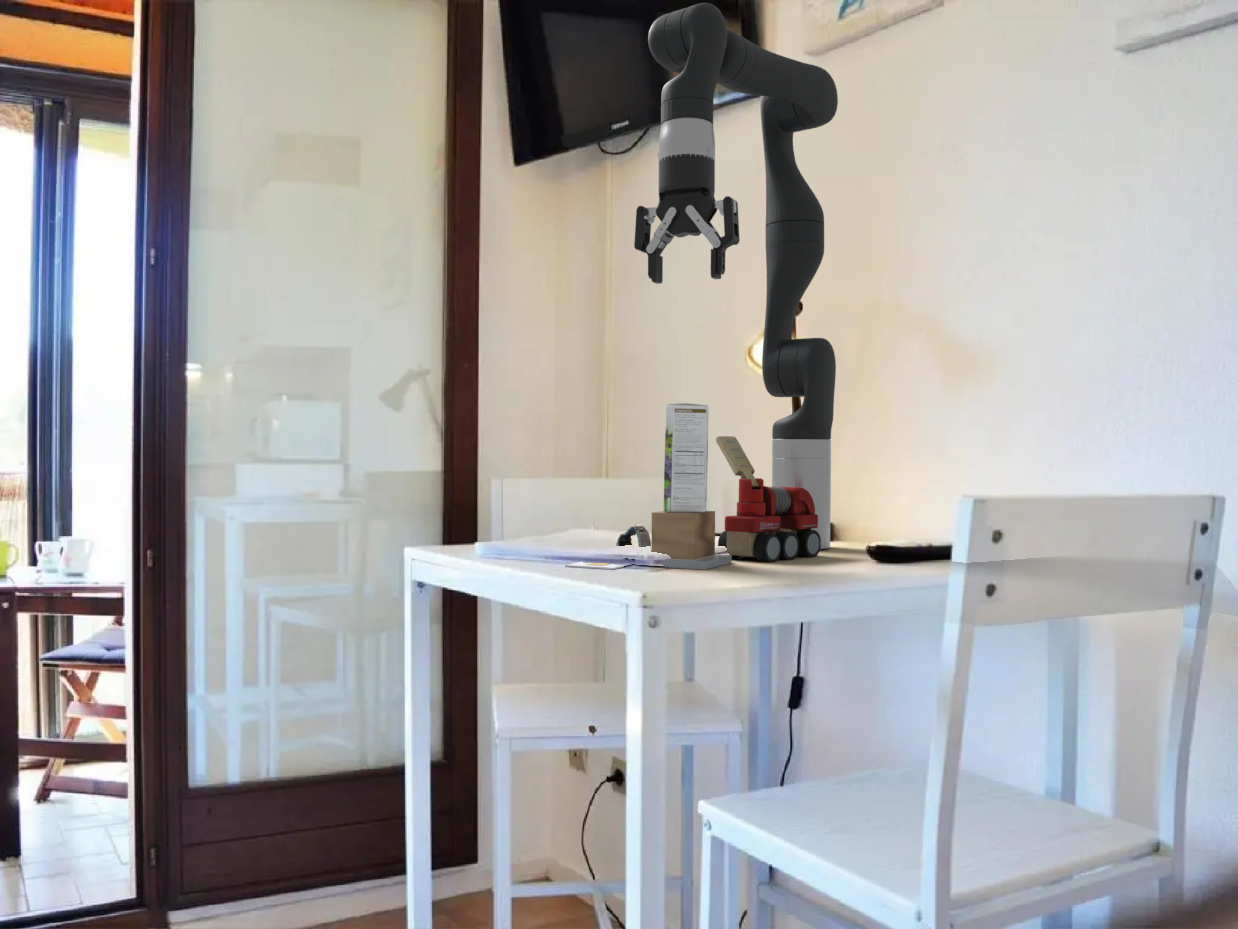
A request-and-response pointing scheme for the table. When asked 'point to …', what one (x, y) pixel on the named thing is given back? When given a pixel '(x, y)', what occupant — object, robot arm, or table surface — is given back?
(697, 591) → the table surface
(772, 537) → the toy fire truck
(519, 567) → the table surface
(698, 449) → the syrup box
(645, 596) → the table surface
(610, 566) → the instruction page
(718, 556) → the plate
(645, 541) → the wristwatch
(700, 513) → the brick
